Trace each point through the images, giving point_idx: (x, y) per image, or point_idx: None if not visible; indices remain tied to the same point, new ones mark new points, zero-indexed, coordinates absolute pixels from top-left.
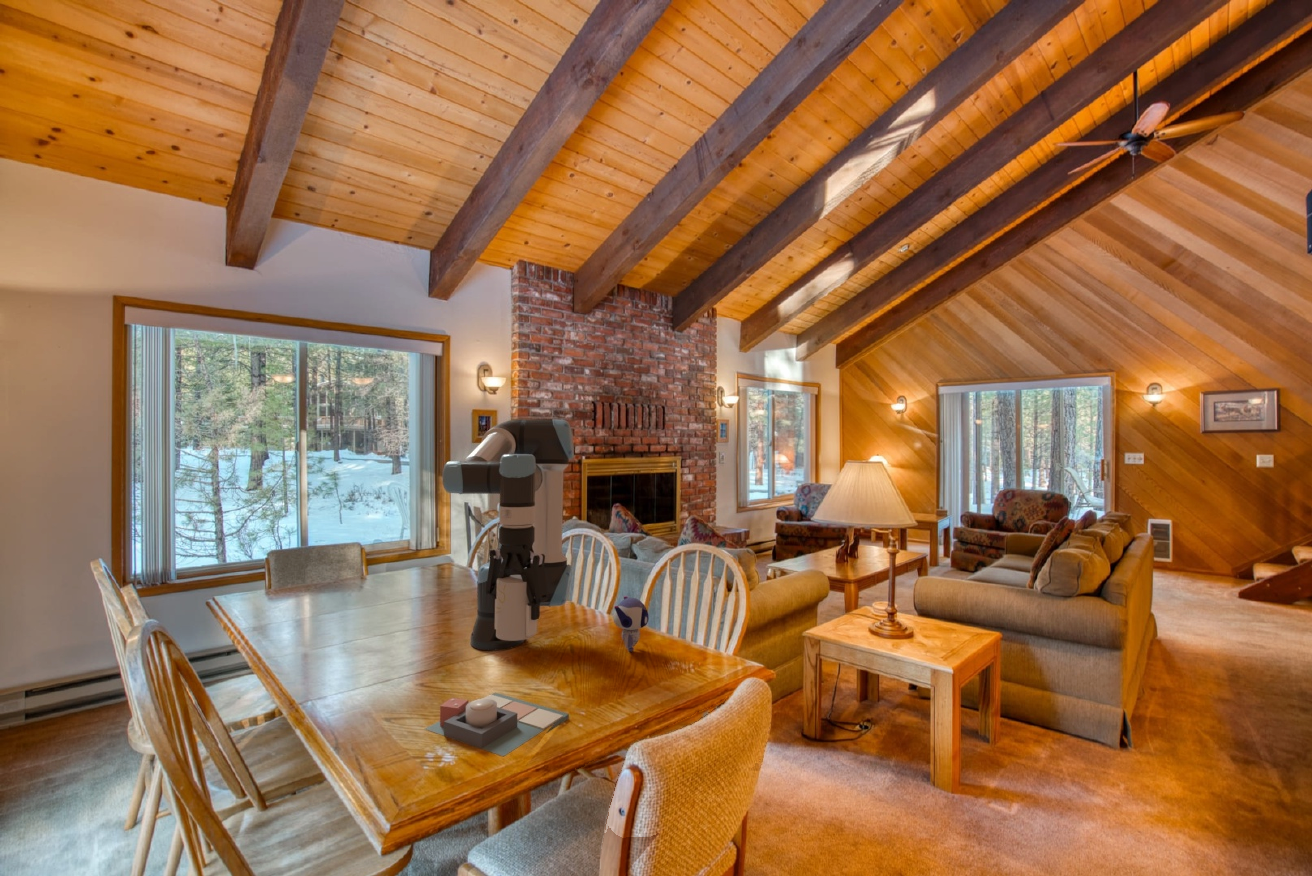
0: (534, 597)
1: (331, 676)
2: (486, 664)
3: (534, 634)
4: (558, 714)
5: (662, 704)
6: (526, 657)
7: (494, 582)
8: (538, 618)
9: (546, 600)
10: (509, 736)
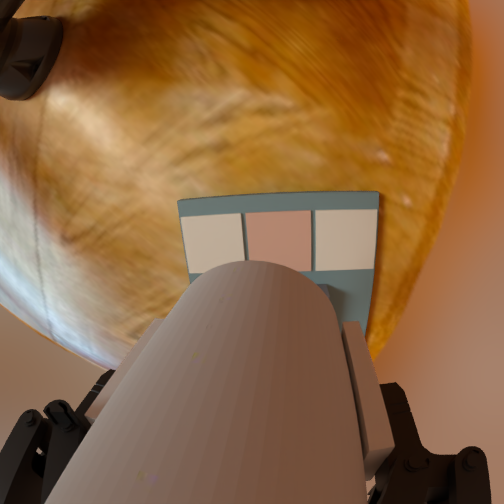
0: (363, 474)
1: (12, 282)
2: (67, 116)
3: (328, 299)
4: (367, 211)
5: (464, 69)
6: (98, 44)
7: (41, 481)
8: (395, 384)
9: (473, 450)
10: (335, 312)
